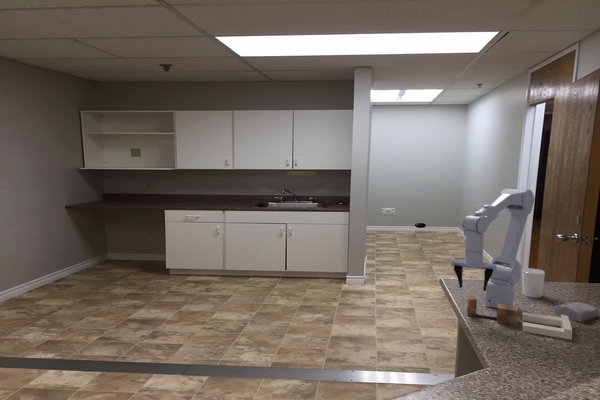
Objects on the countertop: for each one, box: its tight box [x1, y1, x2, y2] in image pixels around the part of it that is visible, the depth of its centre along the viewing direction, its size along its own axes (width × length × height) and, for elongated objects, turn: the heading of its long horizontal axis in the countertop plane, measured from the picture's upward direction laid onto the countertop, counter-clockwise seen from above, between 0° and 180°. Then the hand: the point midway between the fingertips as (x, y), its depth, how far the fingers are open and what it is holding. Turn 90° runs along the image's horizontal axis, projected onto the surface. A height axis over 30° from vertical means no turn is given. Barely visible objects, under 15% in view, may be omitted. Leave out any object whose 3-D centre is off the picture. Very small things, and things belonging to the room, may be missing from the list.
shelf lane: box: [521, 311, 573, 341], centre depth 130 cm, size 13×13×3 cm
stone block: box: [554, 301, 599, 323], centre depth 141 cm, size 12×5×10 cm
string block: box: [466, 297, 519, 326], centre depth 137 cm, size 16×5×6 cm, turn 61°
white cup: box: [521, 267, 546, 299], centre depth 161 cm, size 8×8×10 cm
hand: (472, 288), depth 140 cm, fingers open, 7 cm apart
